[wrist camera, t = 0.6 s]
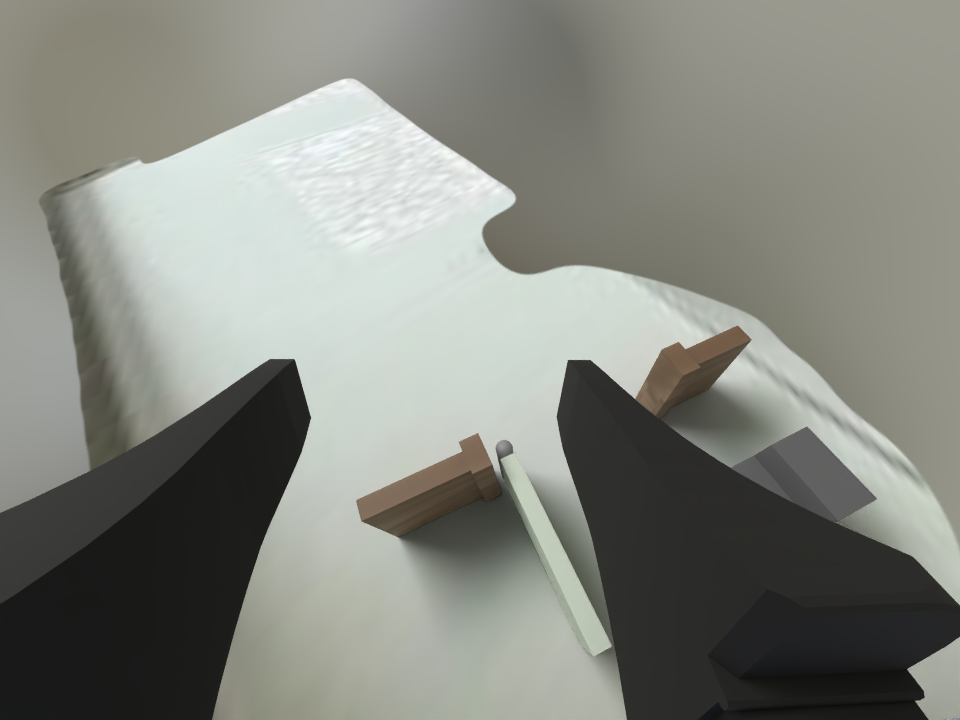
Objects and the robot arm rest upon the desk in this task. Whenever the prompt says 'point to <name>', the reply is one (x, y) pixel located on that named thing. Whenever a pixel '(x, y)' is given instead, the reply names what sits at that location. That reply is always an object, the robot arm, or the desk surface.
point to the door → (552, 553)
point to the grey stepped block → (807, 476)
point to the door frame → (472, 469)
